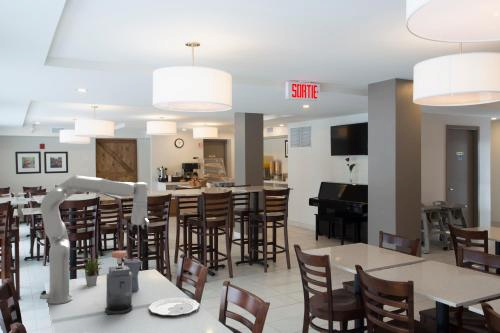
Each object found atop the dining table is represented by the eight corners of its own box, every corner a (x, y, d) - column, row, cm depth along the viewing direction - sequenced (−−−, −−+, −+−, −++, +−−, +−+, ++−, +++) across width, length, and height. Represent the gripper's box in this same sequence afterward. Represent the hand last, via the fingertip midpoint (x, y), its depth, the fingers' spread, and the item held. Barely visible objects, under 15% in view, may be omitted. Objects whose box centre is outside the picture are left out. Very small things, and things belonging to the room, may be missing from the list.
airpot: (109, 319, 197) (109, 274, 197) (102, 306, 213) (102, 265, 213) (137, 314, 203) (137, 271, 203) (128, 302, 220) (128, 262, 219)
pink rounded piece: (113, 266, 204) (113, 254, 204) (110, 262, 210) (110, 251, 210) (128, 264, 207) (128, 252, 207) (124, 261, 213) (124, 250, 213)
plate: (156, 322, 194) (156, 318, 194) (143, 305, 217) (143, 301, 217) (206, 313, 206) (206, 309, 206) (189, 298, 228) (189, 294, 228)
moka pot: (138, 294, 234) (138, 258, 233) (113, 292, 237) (113, 257, 237) (146, 289, 243) (146, 254, 243) (121, 287, 246) (121, 253, 246)
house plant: (98, 289, 242) (98, 261, 241) (74, 289, 242) (74, 261, 241) (107, 282, 256) (107, 255, 256) (84, 282, 256) (85, 255, 256)
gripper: (126, 203, 239) (125, 233, 240) (142, 206, 228) (142, 237, 228) (137, 202, 245) (136, 231, 245) (154, 205, 233) (153, 235, 233)
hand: (139, 234), depth 236 cm, fingers open, 9 cm apart
